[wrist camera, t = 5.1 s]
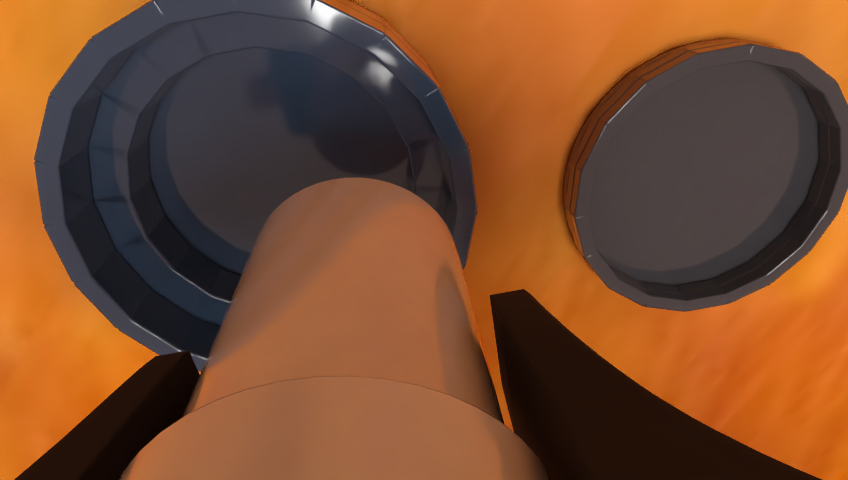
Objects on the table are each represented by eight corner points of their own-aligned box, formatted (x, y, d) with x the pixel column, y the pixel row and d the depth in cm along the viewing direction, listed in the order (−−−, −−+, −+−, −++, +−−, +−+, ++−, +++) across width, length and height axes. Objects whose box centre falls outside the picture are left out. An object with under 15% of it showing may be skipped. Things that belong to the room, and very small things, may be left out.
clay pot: (488, 347, 15) (622, 821, 7) (272, 386, 15) (152, 902, 7) (458, 136, 12) (615, 492, 4) (198, 184, 12) (-131, 626, 4)
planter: (476, 283, 22) (495, 348, 19) (175, 337, 22) (138, 412, 19) (428, -55, 17) (442, -55, 13) (34, 17, 17) (-56, 36, 13)
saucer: (806, 265, 23) (833, 285, 22) (568, 308, 23) (580, 331, 22) (847, 14, 19) (883, 19, 17) (553, 67, 19) (567, 76, 17)
